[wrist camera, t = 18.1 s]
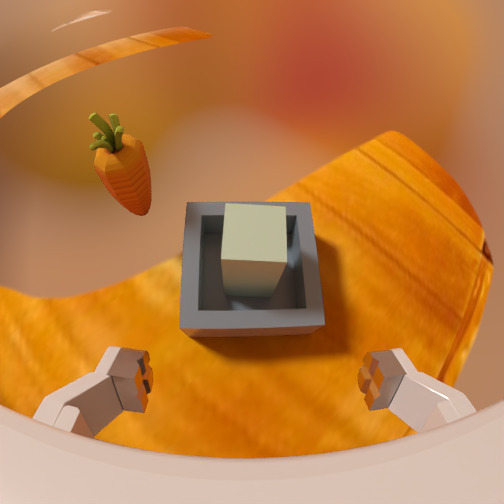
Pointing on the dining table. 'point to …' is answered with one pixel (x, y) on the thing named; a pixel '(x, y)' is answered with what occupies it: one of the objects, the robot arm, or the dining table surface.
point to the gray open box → (243, 307)
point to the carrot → (122, 165)
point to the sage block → (253, 249)
